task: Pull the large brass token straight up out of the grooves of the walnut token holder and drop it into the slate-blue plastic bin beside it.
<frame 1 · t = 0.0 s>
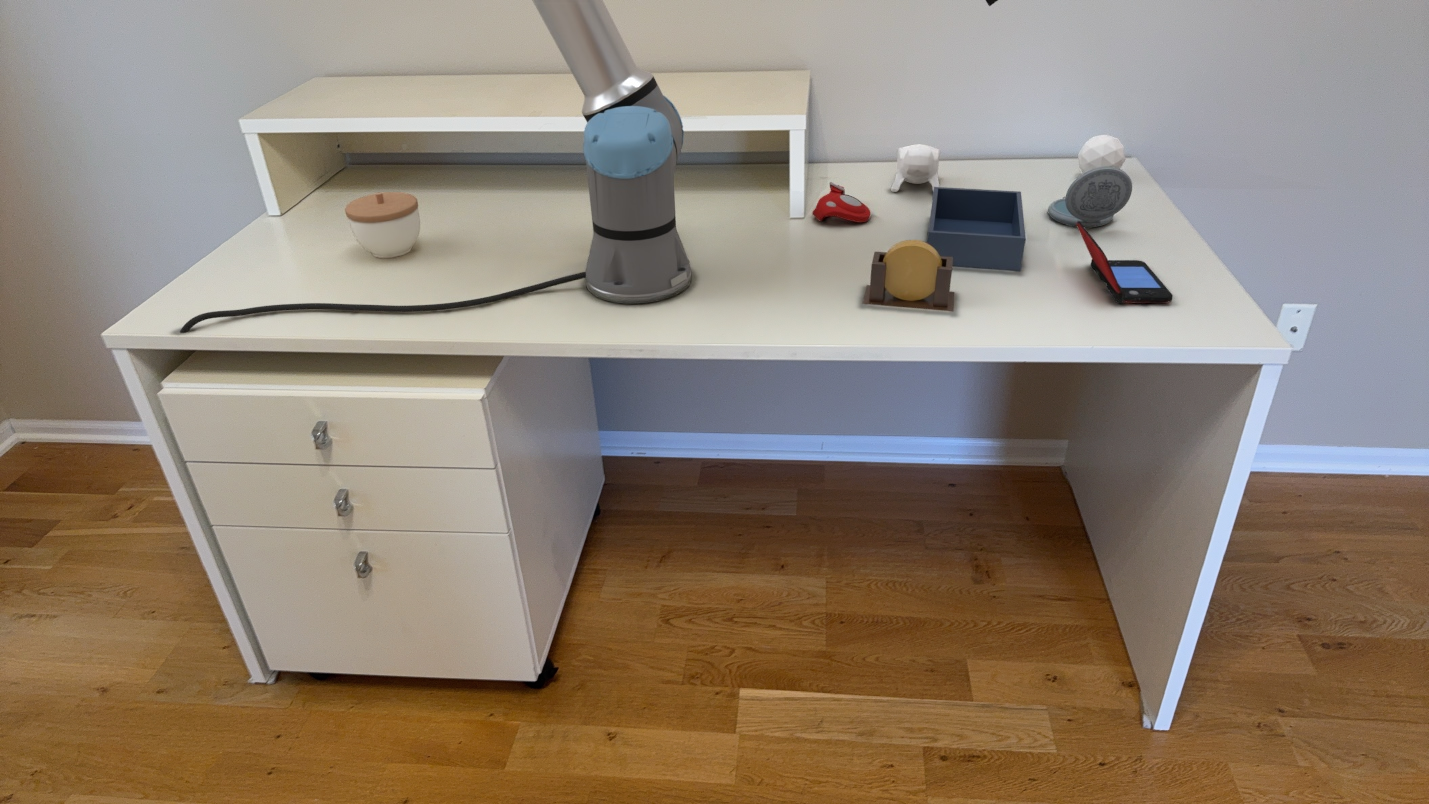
pocket watch: (1079, 219, 148), on the table
bin: (972, 244, 140), on the table
trinket box: (392, 251, 144), on the table
white animal figurine: (915, 189, 162), on the table
holder: (908, 300, 124), on the table
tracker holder: (842, 214, 152), on the table
geometric ball: (1097, 179, 164), on the table
handheld console: (1116, 286, 126), on the table
token: (908, 297, 124), resting on holder
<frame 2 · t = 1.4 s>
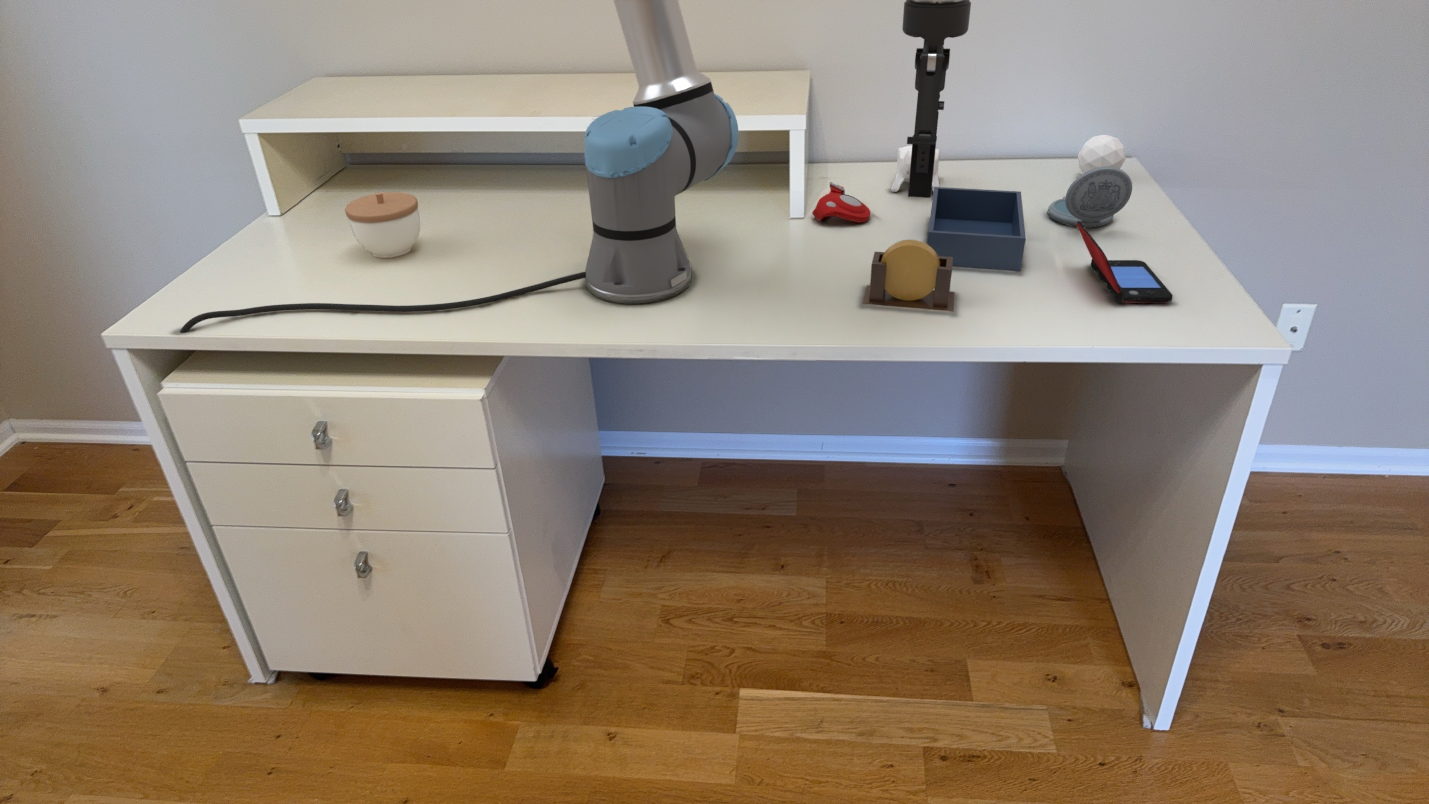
hand: (921, 178, 115), 17 cm above the table, tool pointing down, fingers open, 13 cm apart
nothing on the table moved.
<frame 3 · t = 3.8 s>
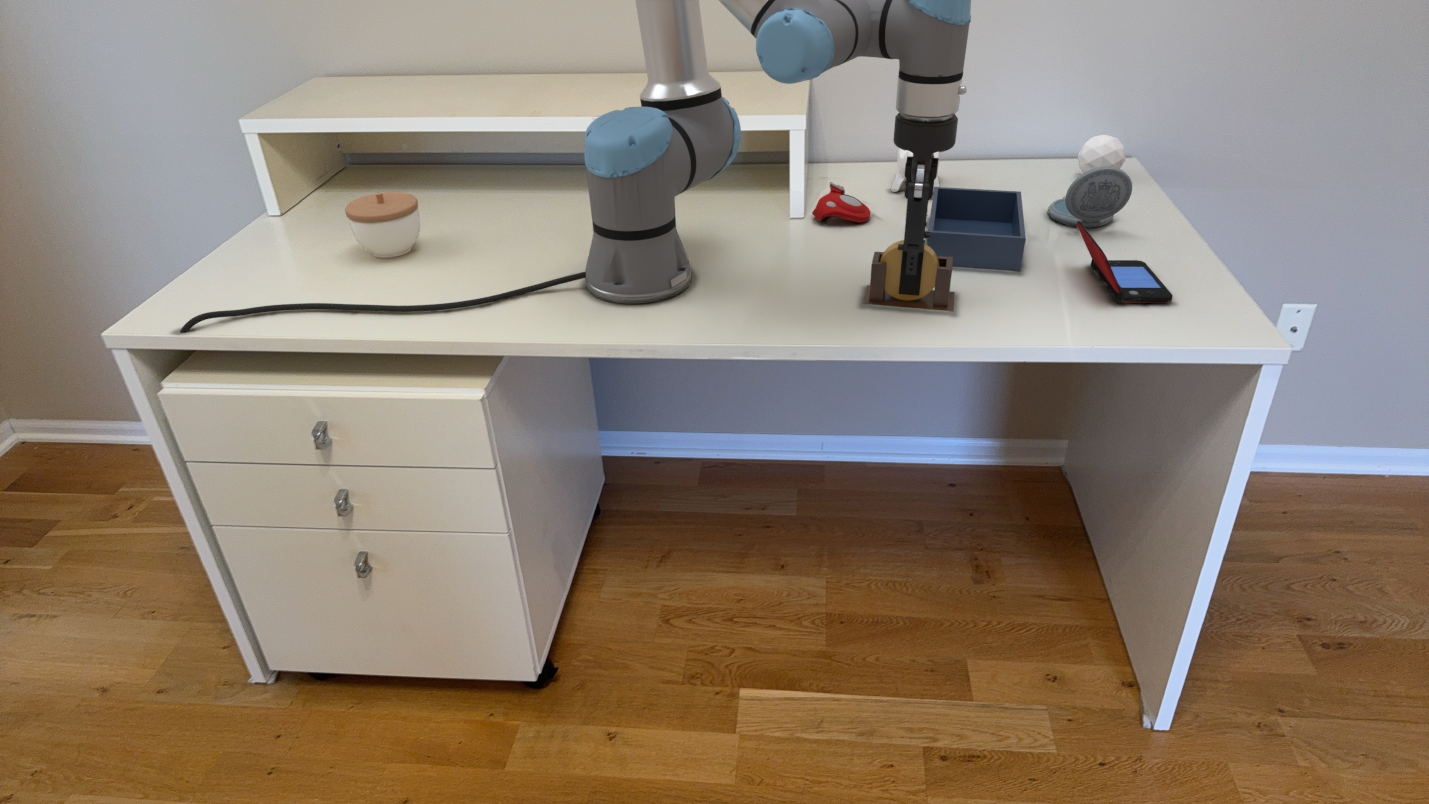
hand: (909, 289, 123), 2 cm above the table, tool pointing down, fingers closed on token, 2 cm apart
token: (908, 297, 124), point 1 cm above the table, tilted 6°, touching gripper, holder
everything else where it was.
when the fingers open (2 cm above the table, at t = 11.2 s): token stays where it is, resting on bin.
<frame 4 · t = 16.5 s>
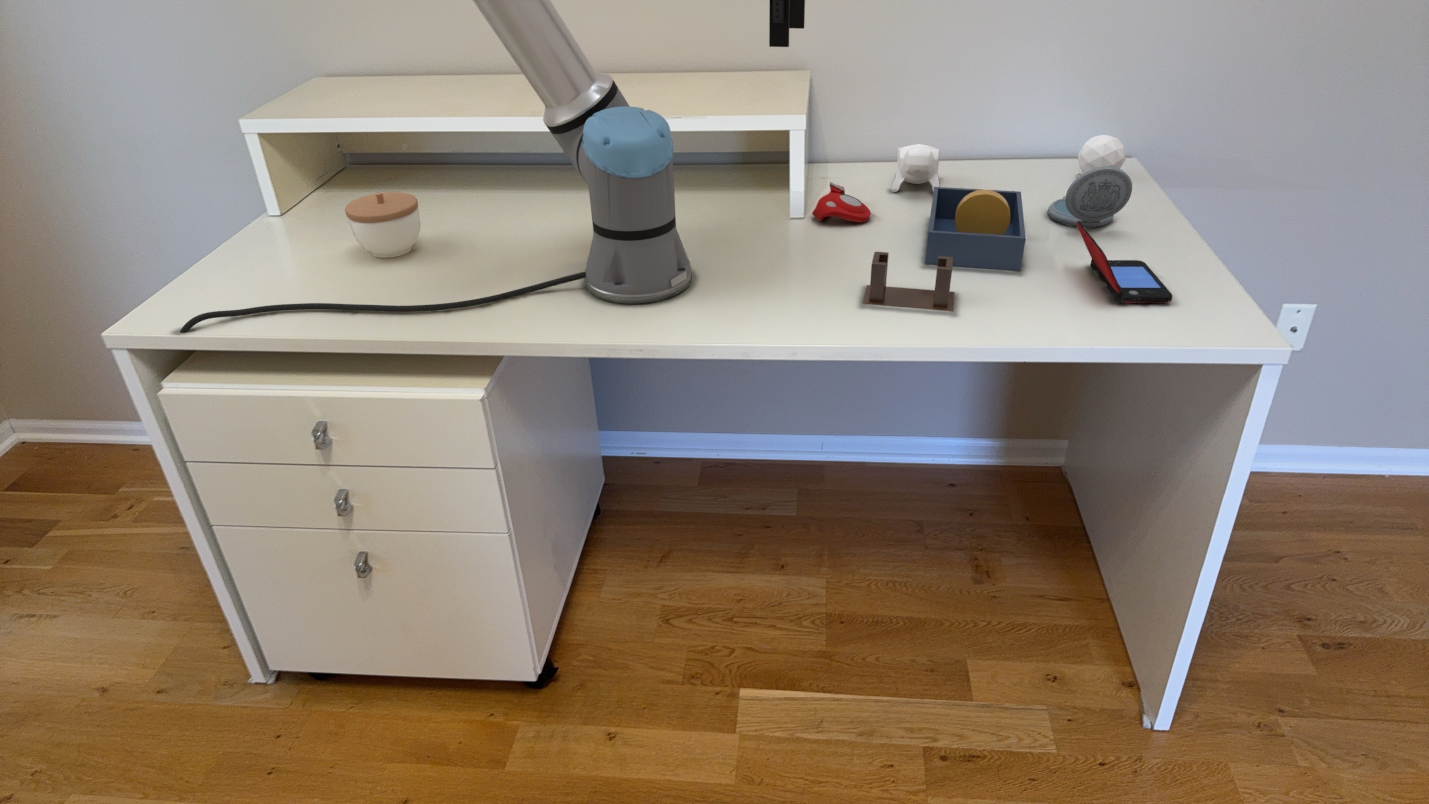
hand: (787, 37, 134), 29 cm above the table, tool pointing down, fingers open, 13 cm apart
token: (976, 241, 139), point 1 cm above the table, tilted 6°, touching bin
everything else where it was.
at the end: token inside the target area in the bin (0.5 cm from its centre), point 0.5 cm above the bin's base; the gripper is holding nothing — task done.
